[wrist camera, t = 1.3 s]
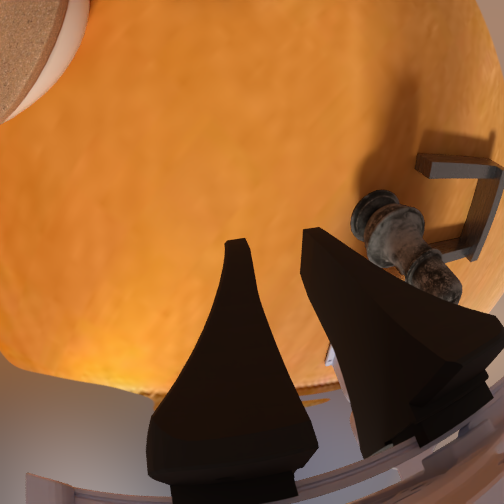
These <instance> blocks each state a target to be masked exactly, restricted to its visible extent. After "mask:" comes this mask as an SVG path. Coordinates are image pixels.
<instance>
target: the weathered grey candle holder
mask: <svg viewBox="0 0 504 504" xmlns="http://www.w3.org/2000/svg"><path fill="white" fill-rule="evenodd" d="M350 225H351V231H352V232H353V234H354V236H355V237H356V238H357V239H358V240H361V241H363V242H365V247H366V249H367V256H368V259H369V261H371V262H372V263H374V264H375V265H377V266H379V267H380V268H389V267H392V266H397V267H398V268H399V270H400V271H401V272H402V273H403V275H404V276H405V282H407V283H408V284H410V285H412V286H414V287H416V288H418V289H420V290H423V291H425V292H427V293H429V294H432V295H434V296H436V297H438V298H441V299H443V300H446V301H448V302H451V303H454V304H457V305H458V303H459V300H460V298H461V295H462V285H461V283H460V281H459V279H458V278H457V277H456V276H455V275H454V274H453V272H452V271H451V270H450V269H449V268H448V267H447V266H446V265H445V263H444V262H443V261H442V253H441V252H440V250H438V249H432V248H431V247H430V246H429V245H428V244H427V243H426V242H425V241H424V240H423V238H422V237H423V233H424V226H425V222H424V218H423V215H422V214H421V212H420V211H419V210H417V209H416V208H414V207H409V206H406V205H401V204H400V203H399V200H398V198H397V197H396V196H395V194H393V193H392V192H390V191H387V190H377V191H374V192H372V193H370V194H368V195H367V196H365V197H364V198H363V199H362V200H361V201H360V202H359V203H358V204H357V206H356V208H355V209H354V211H353V214H352V217H351V224H350Z"/></svg>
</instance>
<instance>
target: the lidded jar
mask: <svg viewBox="0 0 504 504" xmlns="http://www.w3.org/2000/svg"><path fill="white" fill-rule="evenodd" d="M89 9H90V0H0V124H2V123H4V122H6V121H8V120H10V119H12V118H13V117H15V116H16V115H18V114H19V113H20V112H22V111H23V110H25V109H26V108H28V107H29V106H31V105H32V104H33V103H34V102H36V101H37V100H38V99H39V98H40V97H41V96H43V95H44V94H45V93H46V92H47V91H48V90H49V89H50V88H51V87H52V86H53V85H54V84H55V83H56V82H57V80H58V79H59V78H60V77H61V75H62V74H63V73H64V72H65V70H66V69H67V67H68V66H69V64H70V62H71V61H72V59H73V58H74V56H75V54H76V52H77V50H78V48H79V46H80V44H81V41H82V39H83V36H84V34H85V30H86V26H87V23H88V16H89Z"/></svg>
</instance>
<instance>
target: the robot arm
mask: <svg viewBox="0 0 504 504" xmlns="http://www.w3.org/2000/svg"><path fill="white" fill-rule="evenodd" d="M224 245H225V257H224V264H223V269H222V274H221V278H220V283H219V286H218V290H217V293H216V296H215V299H214V303H213V306H212V308H211V311H210V314H209V316H208V319H207V321H206V324H205V326H204V329H203V331H202V333H201V335H200V337H199V339H198V341H197V344H196V346H195V348H194V350H193V352H192V353H191V355H190V357H189V359H188V361H187V362H186V364H185V366H184V368H183V369H182V371H181V373H180V374H179V376H178V378H177V380H176V381H175V383H174V384H173V386H172V387H171V389H170V390H169V392H168V393H167V395H166V396H165V398H164V399H163V400H162V402H161V403H160V405H159V406H158V408H157V409H156V410H155V412H154V413H153V415H152V416H151V420H150V424H149V429H148V435H147V445H146V458H147V468H148V469H147V470H148V475H149V476H150V477H151V478H152V479H154V480H156V481H159V482H162V483H165V484H168V485H170V488H171V496H172V497H154V496H134V495H122V494H114V493H106V492H99V491H92V490H86V489H81V488H76V487H72V486H71V485H68V484H65V483H62V482H59V481H55V480H51V479H48V478H44V477H41V476H37V475H34V474H30V473H26V504H291V503H295V502H299V501H303V500H307V499H311V498H314V497H318V496H321V495H324V494H327V493H331V492H334V491H337V490H340V489H343V488H346V487H348V486H351V485H354V484H356V483H359V482H361V481H364V480H366V479H369V478H371V477H374V476H376V475H378V474H380V473H383V472H385V471H387V470H389V469H396V470H398V473H399V475H400V478H401V481H400V482H398V483H396V484H394V485H391V486H389V487H387V488H385V489H382V490H380V491H378V492H375V493H373V494H370V495H368V496H366V497H363V498H360V499H358V500H355V501H352V502H350V503H347V504H504V377H503V378H501V379H500V380H499V381H498V382H496V383H495V384H494V385H493V386H492V387H490V388H488V386H487V384H486V382H485V381H486V380H487V379H488V377H489V376H488V374H487V372H486V370H485V369H486V368H487V367H488V365H489V364H490V363H491V362H492V361H493V360H494V359H495V358H496V357H497V355H498V354H499V353H500V352H501V351H502V349H503V348H504V327H503V325H502V324H501V323H500V321H499V320H498V318H496V316H494V315H490V314H487V313H483V312H479V311H476V310H472V309H468V308H465V307H463V306H460V305H457V304H454V303H451V302H448V301H446V300H443V299H441V298H438V297H436V296H434V295H432V294H429V293H427V292H425V291H423V290H420V289H418V288H416V287H414V286H412V285H410V284H408V283H407V282H405V281H403V280H401V279H399V278H397V277H395V276H394V275H392V274H390V273H388V272H387V271H385V270H383V269H382V268H380V267H379V266H377V265H375V264H374V263H372V262H371V261H369V260H367V259H366V258H364V257H363V256H361V255H360V254H358V253H357V252H355V251H354V250H353V249H351V248H350V247H348V246H347V245H345V244H344V243H342V242H341V241H339V240H338V239H337V238H335V237H334V236H332V235H331V234H329V233H328V232H326V231H325V230H323V229H321V228H320V227H316V228H309V229H303V239H302V254H301V267H300V274H301V278H302V281H303V284H304V287H305V289H306V292H307V295H308V298H309V300H310V302H311V304H312V306H313V308H314V310H315V312H316V314H317V316H318V318H319V320H320V322H321V324H322V326H323V328H324V331H325V333H326V335H327V337H328V339H329V341H330V343H331V344H330V347H329V351H328V354H327V357H326V361H325V366H329V365H332V366H333V368H334V371H335V373H336V376H337V378H338V380H339V383H340V385H341V388H342V390H343V393H344V395H345V397H346V399H347V400H348V401H349V402H350V404H351V407H352V413H351V416H350V424H351V428H352V431H353V434H354V436H355V438H356V441H357V443H358V445H359V446H360V450H361V453H362V456H363V458H364V460H361V461H358V462H356V463H353V464H350V465H348V466H345V467H342V468H339V469H336V470H333V471H330V472H327V473H324V474H320V475H317V476H314V477H310V478H306V479H303V480H299V481H294V473H295V471H296V470H297V469H299V468H303V467H304V466H305V464H306V463H307V462H308V461H309V459H310V458H311V457H312V455H313V454H314V453H315V452H316V450H317V449H318V448H319V447H318V441H317V439H316V435H315V432H314V429H313V426H312V423H311V420H310V418H309V416H308V414H307V412H306V410H305V408H304V406H303V404H302V402H301V400H300V398H299V395H298V393H297V391H296V389H295V387H294V385H293V382H292V380H291V378H290V376H289V374H288V371H287V369H286V367H285V364H284V362H283V360H282V357H281V355H280V352H279V350H278V348H277V345H276V342H275V340H274V337H273V335H272V332H271V329H270V327H269V324H268V321H267V319H266V316H265V313H264V310H263V307H262V304H261V302H260V298H259V294H258V290H257V284H256V279H255V273H254V268H253V262H252V256H251V251H250V248H249V245H248V243H247V241H246V239H245V238H241V239H234V240H228V241H226V243H225V244H224ZM459 429H460V430H459ZM458 430H459V433H458V437H457V438H456V439H455V440H453V441H452V442H450V443H448V444H447V445H445V446H443V447H442V448H440V449H438V450H437V451H435V452H433V451H434V449H435V447H436V445H437V444H438V443H439V442H441V441H442V440H444V439H446V438H447V437H448V436H450V435H452V434H453V433H455V432H456V431H458Z"/></svg>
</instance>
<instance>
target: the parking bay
mask: <svg viewBox="0 0 504 504" xmlns="http://www.w3.org/2000/svg"><path fill="white" fill-rule="evenodd" d="M415 169H416V170H417V171H419V172H420V173H422V174H423V175H424V176H426V177H427V178H429V179H439V178H479V179H478V183H477V187H476V190H475V194H474V197H473V201H472V204H471V207H470V210H469V213H468V216H467V219H466V222H465V225H464V228H463V231H462V234H461V236H460V238H456V239H451V240H447V241H442V242H437V243H433V244H428V245H429V246H430V247H431V248H432V249H438V250H440V252H441V253H442V261H443V262H444V263H447V262H451V261H454V260H457V259H461V258H464V257H466V258H467V259H468V260H469V261H470V262H472V261H475V260H477V259H478V257H479V254H480V252H481V250H482V247H483V245H484V243H485V240H486V238H487V235H488V233H489V230H490V228H491V225H492V222H493V220H494V217H495V214H496V211H497V208H498V205H499V202H500V199H501V196H502V193H503V189H504V167H502V166H500V165H499V164H497V163H496V162H494V161H492V160H491V159H486V158H477V157H466V156H455V155H441V154H423V153H418V154H417V160H416V166H415ZM395 267H396V268H397V270H398V271H399V272H400V274H401V275H403V273H402V272H401V271H400V270H399V268H398V267H397V266H395Z"/></svg>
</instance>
